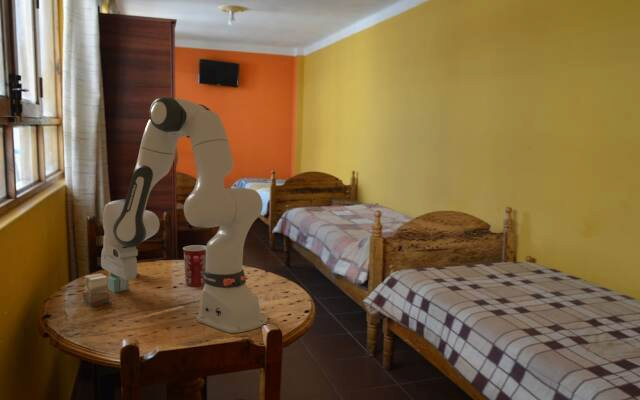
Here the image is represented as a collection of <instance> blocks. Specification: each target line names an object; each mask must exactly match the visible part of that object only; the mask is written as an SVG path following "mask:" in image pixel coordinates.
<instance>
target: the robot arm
mask: <svg viewBox="0 0 640 400" xmlns="http://www.w3.org/2000/svg"><path fill="white" fill-rule="evenodd" d="M149 108H150V109H149V120H147V121H148V122H147V124H146V125H145V129H144V131H143V135H142V137H141V138H142V139H141V142H140V145H139V152H138V156H137V159H136V164H135V168H134V170H133V175H132V177H131V180H130V183H129V186H128V191H127V194H126V197H125V199H115V200H112V201H109V202H107V203H106V204H105V205H104V208H103V213H102V228H103V231H104V233H103V234H104V235H103V238H102V239H103V241H102V242H103V243H102V244H103V248H102V250H101V252H100V253H101V255H100V256H101V257H100V266H101V268H102V269H104V270H105V271H107V272H108V275H109V276H114V275H116V276H118V277H120V280H121V281H120V284H119V288H120V289H122V290H123V289H126V283H127V280H128V281H131V280H135V279H136V278H137V275H138V274H137V271H138V260H137V256H139V250H138V249H137V248H135V246H136V247H137V246H139V245H141V244H142V243H143V242H144V241H146V240H148V239H150V238H152V237H153V236H154V235H156V234H158V232H159V230H160V226H161V221H160V219H159V217H158V215H157V214H156V213H155V212H154V211H151V210H148V209H146V207H147V203H148V200H149V197H150V193H151V191H152V189H153V188H154V186H155V185H156V184H157V183H158V182H159V181H160V180H161V179H163V178H164V177H166V176H167V175H168V173H170V170H171V168H172V166H173V164H174V161H175V155H176V150H177V144H178V142H179V140H180V139H181V137H186V138H187V139H188V138H189V139H190V142H191V148H192V153H193V157H194V163H195V169H196V181H195V185H194V188H193V190H192V191H191V193H190V194H189V195H188V196H187V197H186V199H185V201H184V204H183V213H184V217H185V219H186V221H187V222H188V223H189V225H191V226H192V227H197V228H205V229H206V228H208V229H209V228H215V227H216V228H217V227H219V228H218V230H217V232H216V234H214V236H213V237H212V238H211V239H209V240H208V241H207V243H206V245H205V246H206V269H205V270H204V282H205V285H203V288H202V290H201V292H200V299H199V300H200V301H199V310H198V314H197V315H196V316H195V321H196V322H199V323H202V324H204V325H207V326H209V327H212V328H214V329H217V330H221V331H223V332H226V333H229V334H231V333H232V334H233V333H234V334H236V333H243V332H247V331H248V332H249V331H251V330H255V329H257V328H260V327H263V326H264V325H263V324H265V325H266V324H267V323H268V322H269V320H268V317H267V316H265V315H263V314H262V313H261V308H260V302H259V298H258V295H254V293H253V292H252V291H251V289H250V287H249V286H248V285H247V280H248V278H247V277H248V275H246V273H245V270H244V269H243V262H244V261H243V257H244V246H245V242H246V238H247V235H248V232H249V231H250V228H251V227H252V225H253V223H254V222H255V221H256V220H257V219H258V218H259V217H260V215H261V214H262V211H263V206H264V205H263V204H264V203H263V200H262V196H261V195H260V194H259V192H258V191H256V190H255V189H252V188H245V187H235V188H234V187H233V188H232V187H230V188H226V187H225V178H226V177H227V176H228V175H230V173H231V172H232V171H233V169H234V160H233V155H232V152H231V150H232V149H231V146H230V143H229V139H228V134H227V131H226V129H225V126H224V124H223V121H222V119H221V117H220V115H219V114H218V113H216V112H215V111H213V110H211V109H210V108H209V107H207V106H205V105H203V104H201V103H200V104H199V103H195V102H193V101H190V100H188V99H181V98H175V97H174V98H173V97H172V96H163V97H158V98H156V99H155V100H154V101H153V102H152V103H151V106H150V107H149ZM109 276H108V277H109ZM262 325H263V326H262Z"/></svg>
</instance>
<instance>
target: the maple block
mask: <svg viewBox="0 0 640 400" xmlns="http://www.w3.org/2000/svg"><path fill="white" fill-rule="evenodd" d="M84 291H86V292H87V293H88V294H90V295H96V294H101V293H106V292H107V291H108V276H106V275H104V274H103V273H102V272H101V273H95V274H90V275H85V276H84Z"/></svg>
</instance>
